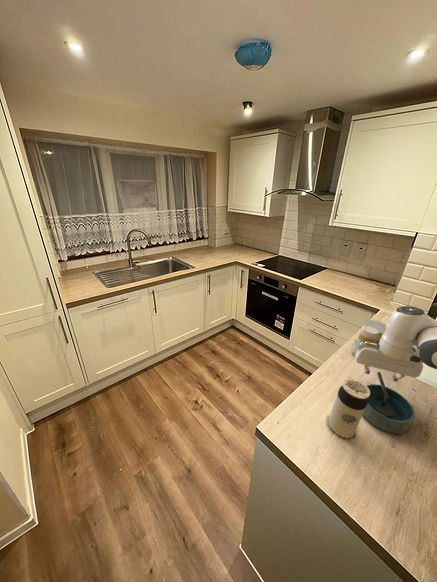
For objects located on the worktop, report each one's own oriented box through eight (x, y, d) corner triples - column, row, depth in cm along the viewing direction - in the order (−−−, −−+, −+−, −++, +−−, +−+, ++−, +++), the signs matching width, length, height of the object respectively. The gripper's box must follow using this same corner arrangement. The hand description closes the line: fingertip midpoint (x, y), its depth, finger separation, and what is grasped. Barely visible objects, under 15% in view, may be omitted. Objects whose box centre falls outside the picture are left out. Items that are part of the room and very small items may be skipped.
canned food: (383, 344, 119) (391, 325, 114) (382, 357, 110) (391, 336, 105) (358, 336, 124) (365, 317, 119) (356, 348, 116) (363, 327, 111)
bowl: (400, 403, 87) (406, 392, 85) (414, 441, 74) (421, 429, 72) (354, 390, 92) (359, 379, 89) (360, 424, 79) (366, 412, 76)
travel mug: (330, 411, 83) (344, 373, 75) (355, 424, 79) (372, 385, 71) (325, 428, 77) (339, 389, 70) (352, 443, 73) (370, 403, 65)
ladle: (380, 385, 94) (386, 373, 91) (392, 422, 80) (399, 408, 77) (366, 381, 96) (371, 369, 93) (375, 417, 81) (381, 403, 78)
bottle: (354, 358, 109) (364, 332, 102) (351, 349, 115) (360, 323, 108) (371, 362, 107) (382, 335, 100) (367, 352, 113) (377, 326, 107)
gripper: (362, 345, 84) (351, 374, 90) (431, 361, 78) (414, 391, 84) (359, 335, 89) (349, 363, 95) (423, 350, 83) (408, 378, 89)
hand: (380, 376), depth 89 cm, fingers open, 8 cm apart
